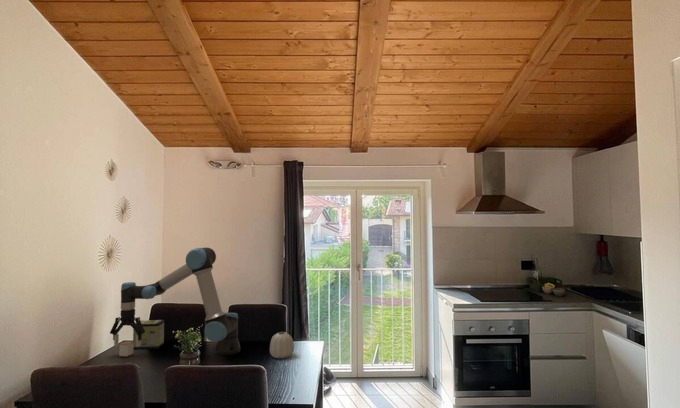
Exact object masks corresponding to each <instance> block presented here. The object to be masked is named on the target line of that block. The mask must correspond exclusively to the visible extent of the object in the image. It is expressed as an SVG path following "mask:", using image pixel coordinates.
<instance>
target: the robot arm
mask: <svg viewBox="0 0 680 408" xmlns="http://www.w3.org/2000/svg"><path fill="white" fill-rule="evenodd" d="M216 260H217V254H216V251H214V249H213V248H210V247H196V248H194V249H191V250H189V251H188V253H187V254H186V257H185V264H183V265H182V266H180V267H179V268H177V269H175V270H174V271H172V272H171V273H168V274H167V275H165V276H164V277H163V278H161V279H160V280H157V281H156V282H155V283H151V284H146V285H136V284H137V283H136V282H133V281H129V282H123V283H121V286H120V287H121V288H120V316H119V317H118V316H117V317H115V320H114V323H113V325H112V327H111V330H110V332H109V334H110V335H111V334H112V337H113V338H112V339H113V341H114V342H113V347H114V348H115V347H119V341H120V340H119V338H120V337H119V336H120V335H119V332H120V331H121V329H122V328H123V327H124V326H127V327H128V326H130V327H131V328H132V330H133V329H134V330H135V331H136V333H137V334H138V335H136V347H138V346H140V340H141V339H142V334H143V333H145V330H144V328H143V326H142V323H141V321H142V320H141V317H140V316H138V317H135V315H136V300H140V299H141V300H150V299H154V298H155V297H156V296H160V295H164V293H165V292H166V291H168V290H169V289H171V288H172V287H174V286H176V285H177V284H179V283H181V282H182V281H184V280H185V279H187V278H188V277H190V276H192V275H194V276H196V282H197V285H198V288H199V293H200V296H201V301H202V304H203V307H204V311H205V315H206V316H205V319H204V322H205V326H204V330H203V331H204V336H205V337H206V339H207V340H209V342H210V341H211V342H213V343H215V346H214V349H213V350H214V352H213V353H214V354H215V355H217V356H231V355H236V354H238V353H240V352H241V345H240V344H241V343H240V341H239V338H238V337H239V335H238V333H239V330H238V329H239V314H238V313H237V312H224V311H223V310H222V306H221V303H220V299H219V295H218V292H217V288H216V284H215V280H214V277H213V273H212V270H213V269H214V266H213V264H215V263H216ZM136 324H137V325H136Z"/></svg>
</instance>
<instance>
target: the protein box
mask: <svg viewBox="0 0 680 408" xmlns="http://www.w3.org/2000/svg"><path fill="white" fill-rule="evenodd" d="M140 321H141V323H142V326H143V328H144V330H145V333H143V334H142V339H141V340H140V346H138V347H136V335H138V334H137V333H136V331H135V330H134V329H133V328H132V331H133V334H132V342H134V348H133V350H155V349H156V350H158V349H159V348H160V347H162V346H163V345H164V344H165V340H164V339H165V319H157V320H156V319H153V320H152V319H151V320H140ZM136 325H137V324H136Z"/></svg>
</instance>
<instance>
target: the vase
mask: <svg viewBox="0 0 680 408" xmlns="http://www.w3.org/2000/svg"><path fill="white" fill-rule="evenodd" d="M294 346H295V345H294V340H293V337H292V336H291V335H290V334H289V333H287V332H285V331H280V332H277V333H275V334H274V335H273V336H272V337H271V340H270V342H269V354H270V355H271V356H272V357H273V358H276V359H287V358H290V357H291V356H292V354H293V353H294V352H295V351H294V350H295V347H294Z"/></svg>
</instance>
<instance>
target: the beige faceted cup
mask: <svg viewBox="0 0 680 408" xmlns="http://www.w3.org/2000/svg"><path fill="white" fill-rule="evenodd" d="M133 348H134V342H133V341H123V342H122V343H119V349H118V351H119V352H118V356H120V357H123V356H128V357H130V356H131V355H133V354H134V349H133ZM129 355H130V356H129Z"/></svg>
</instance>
